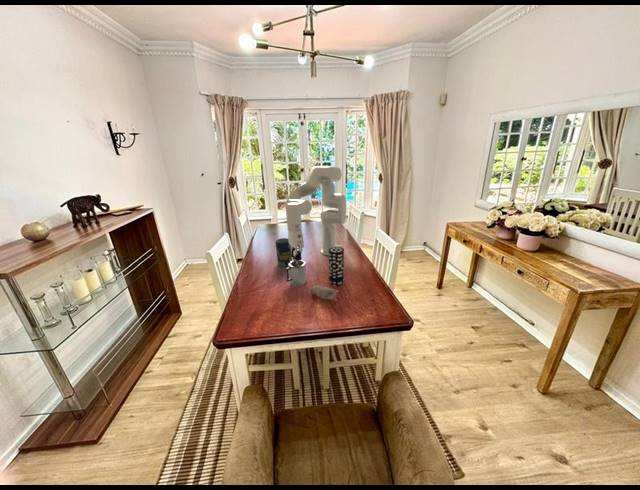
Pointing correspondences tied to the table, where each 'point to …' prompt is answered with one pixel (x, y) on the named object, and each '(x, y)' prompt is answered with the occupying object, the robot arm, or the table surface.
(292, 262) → the press carafe
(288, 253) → the canister
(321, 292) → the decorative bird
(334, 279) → the spotted tube
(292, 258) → the plunger
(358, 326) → the table surface
